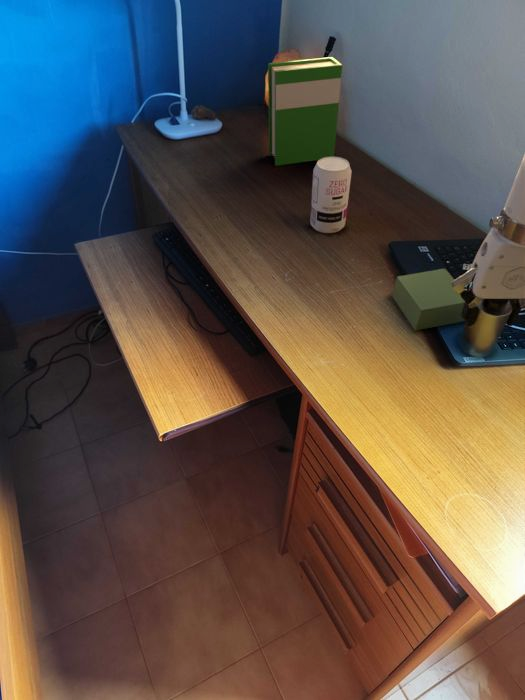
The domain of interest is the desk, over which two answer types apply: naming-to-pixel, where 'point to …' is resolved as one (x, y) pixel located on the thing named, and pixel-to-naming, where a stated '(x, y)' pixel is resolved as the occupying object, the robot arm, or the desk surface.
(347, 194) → the supplement can
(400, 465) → the desk surface
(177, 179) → the desk surface
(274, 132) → the hardback book
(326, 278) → the desk surface
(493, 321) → the flask
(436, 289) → the block
